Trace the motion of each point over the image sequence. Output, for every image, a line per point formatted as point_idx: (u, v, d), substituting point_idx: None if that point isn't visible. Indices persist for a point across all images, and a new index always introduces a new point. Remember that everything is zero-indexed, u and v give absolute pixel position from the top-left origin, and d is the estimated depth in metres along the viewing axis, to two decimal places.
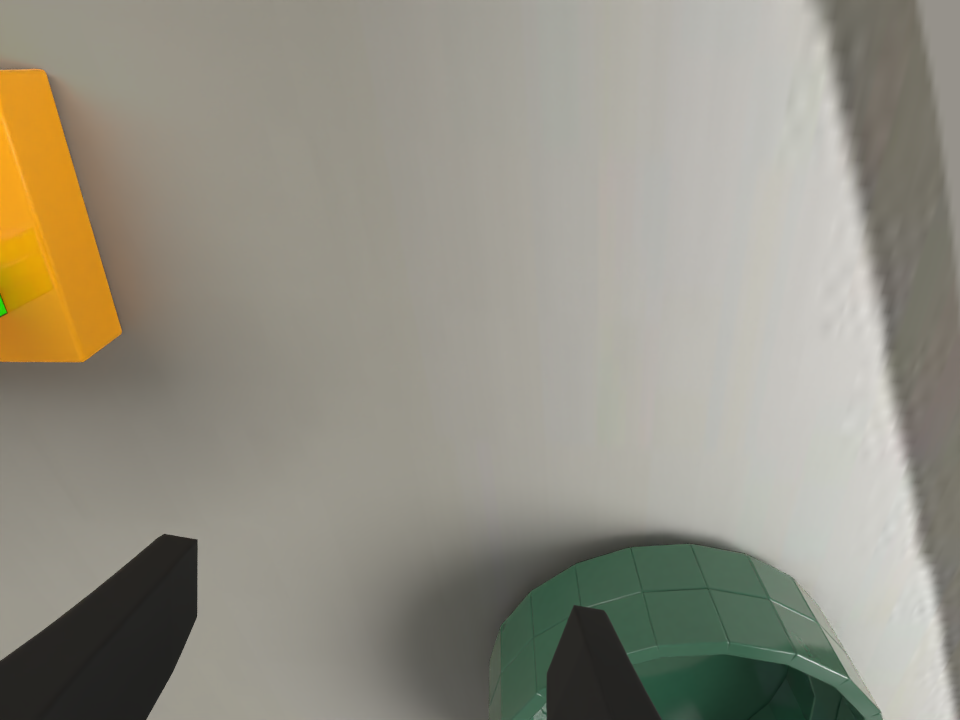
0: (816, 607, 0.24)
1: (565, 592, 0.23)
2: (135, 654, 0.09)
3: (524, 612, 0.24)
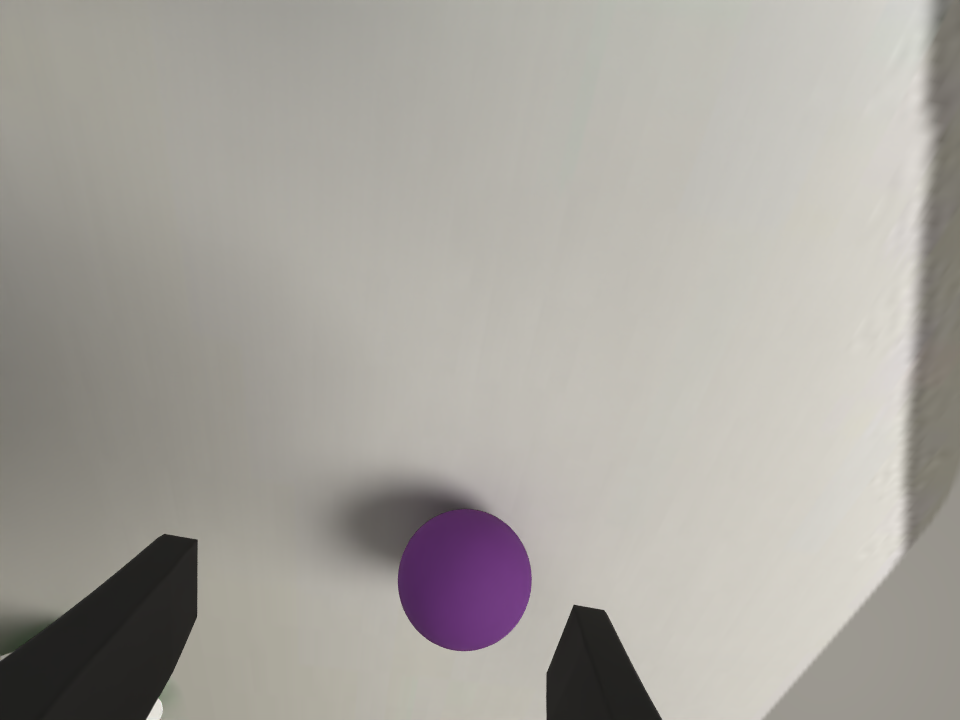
0: None
1: None
2: (135, 654, 0.09)
3: None
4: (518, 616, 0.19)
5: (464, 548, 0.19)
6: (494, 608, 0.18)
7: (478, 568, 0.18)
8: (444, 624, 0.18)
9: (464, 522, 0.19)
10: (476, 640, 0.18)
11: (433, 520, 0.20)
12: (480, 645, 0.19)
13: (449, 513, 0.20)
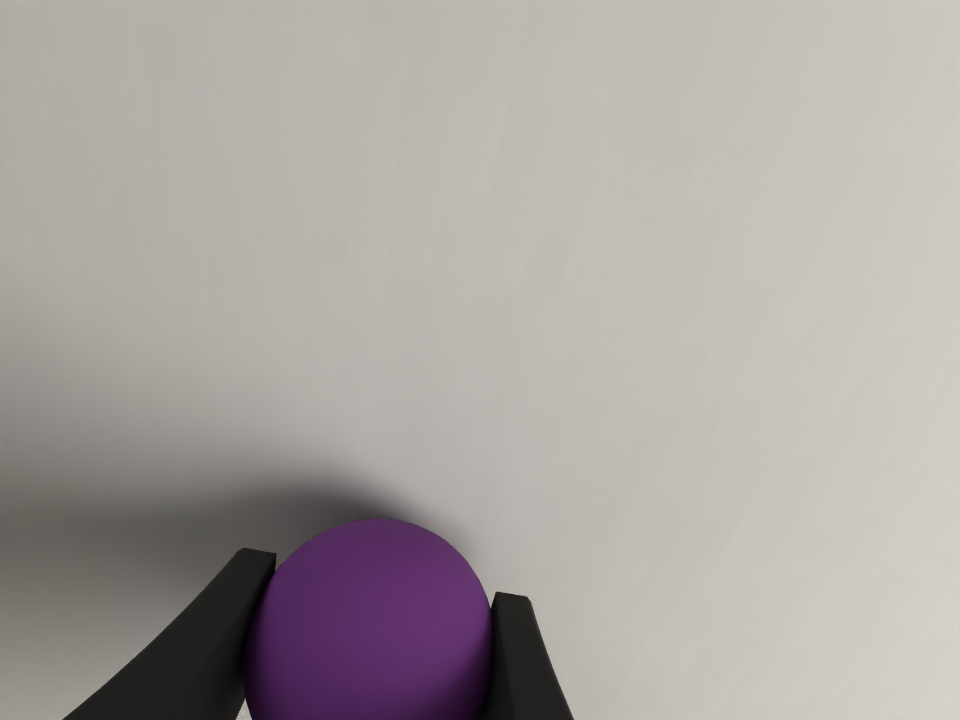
0: None
1: None
2: (227, 669, 0.09)
3: None
4: None
5: (354, 599, 0.09)
6: None
7: (380, 641, 0.09)
8: None
9: (364, 545, 0.10)
10: None
11: (313, 540, 0.11)
12: None
13: (343, 527, 0.11)
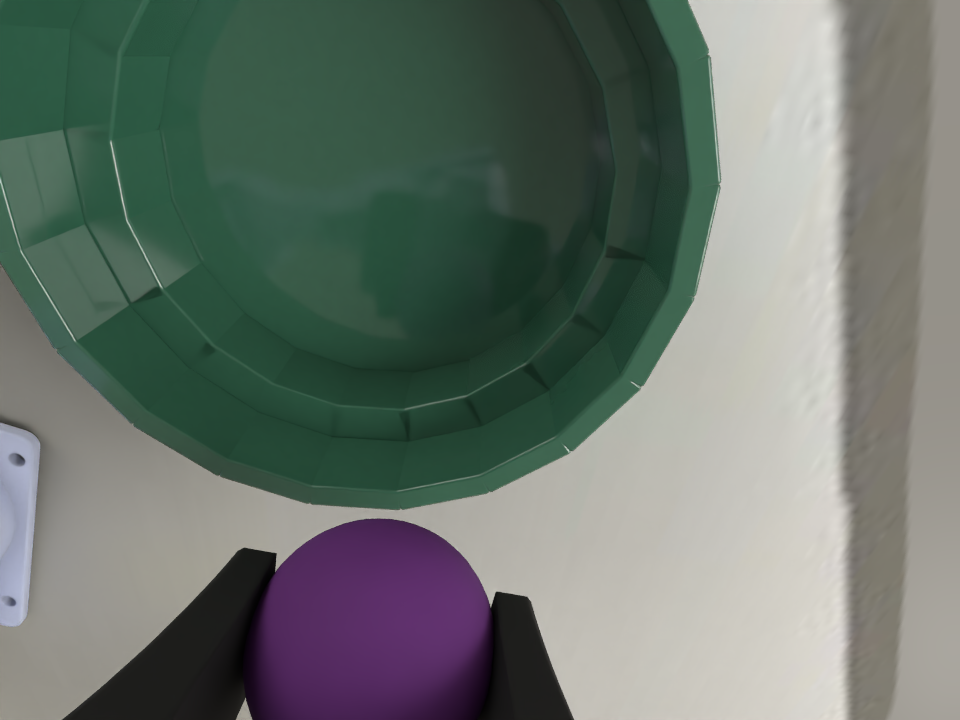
0: None
1: None
2: (227, 669, 0.09)
3: None
4: None
5: (355, 598, 0.09)
6: None
7: (381, 641, 0.09)
8: None
9: (364, 545, 0.10)
10: None
11: (313, 540, 0.11)
12: None
13: (344, 527, 0.11)
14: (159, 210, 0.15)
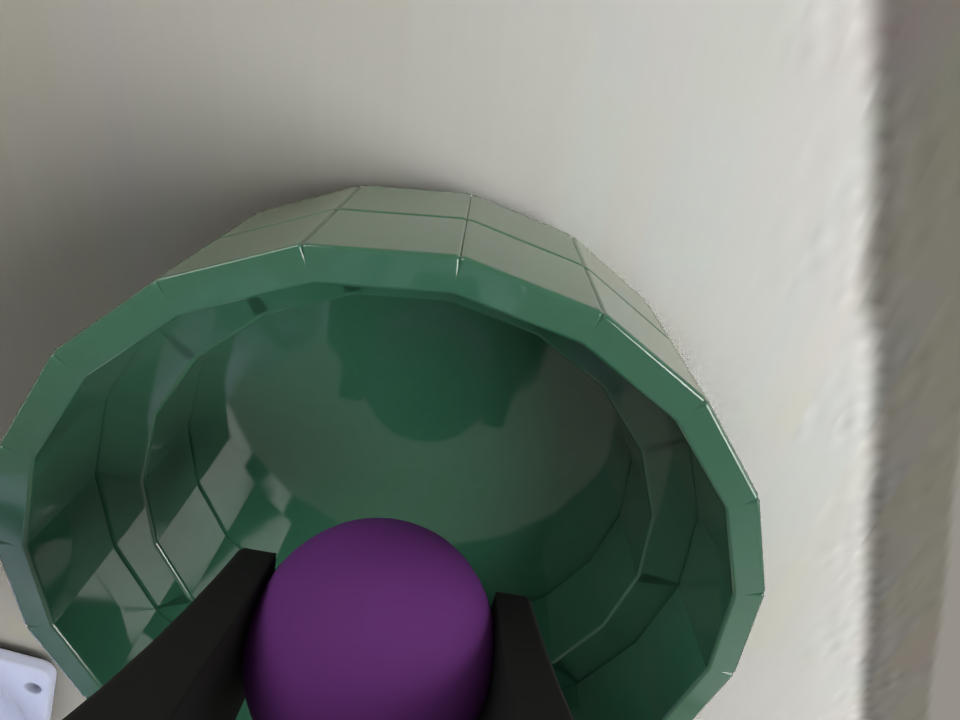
0: None
1: None
2: (227, 669, 0.09)
3: None
4: None
5: (354, 598, 0.09)
6: None
7: (380, 640, 0.09)
8: None
9: (364, 544, 0.10)
10: None
11: (313, 539, 0.11)
12: None
13: (343, 526, 0.11)
14: (186, 507, 0.15)
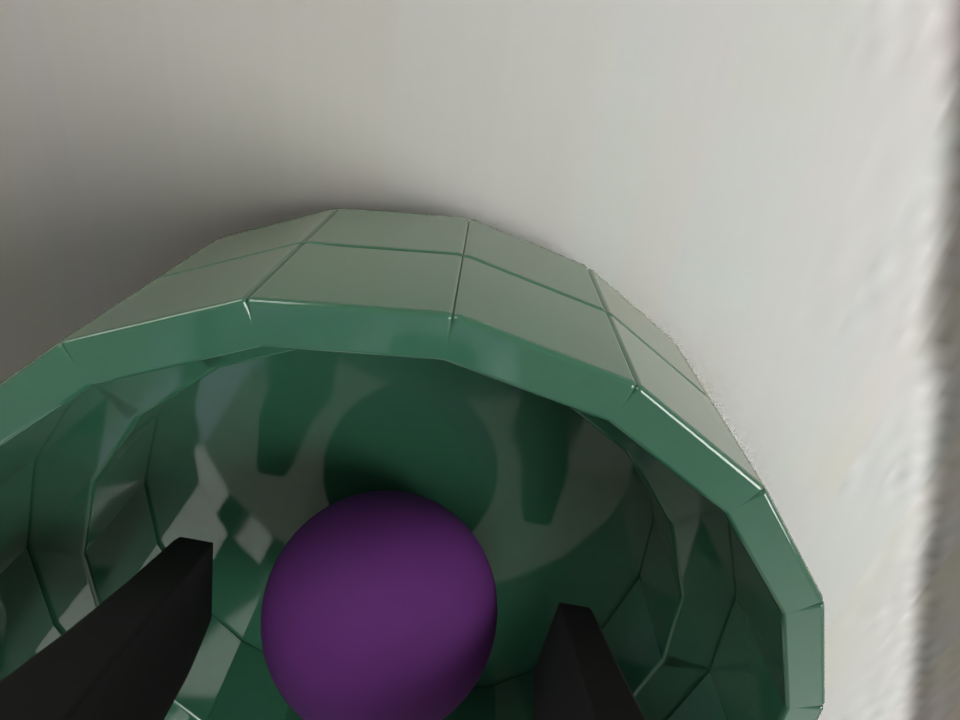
0: None
1: None
2: (153, 657, 0.09)
3: None
4: (470, 681, 0.11)
5: (366, 559, 0.10)
6: (420, 672, 0.10)
7: (390, 596, 0.10)
8: (325, 702, 0.10)
9: (375, 511, 0.11)
10: None
11: (326, 509, 0.12)
12: None
13: (355, 497, 0.12)
14: None
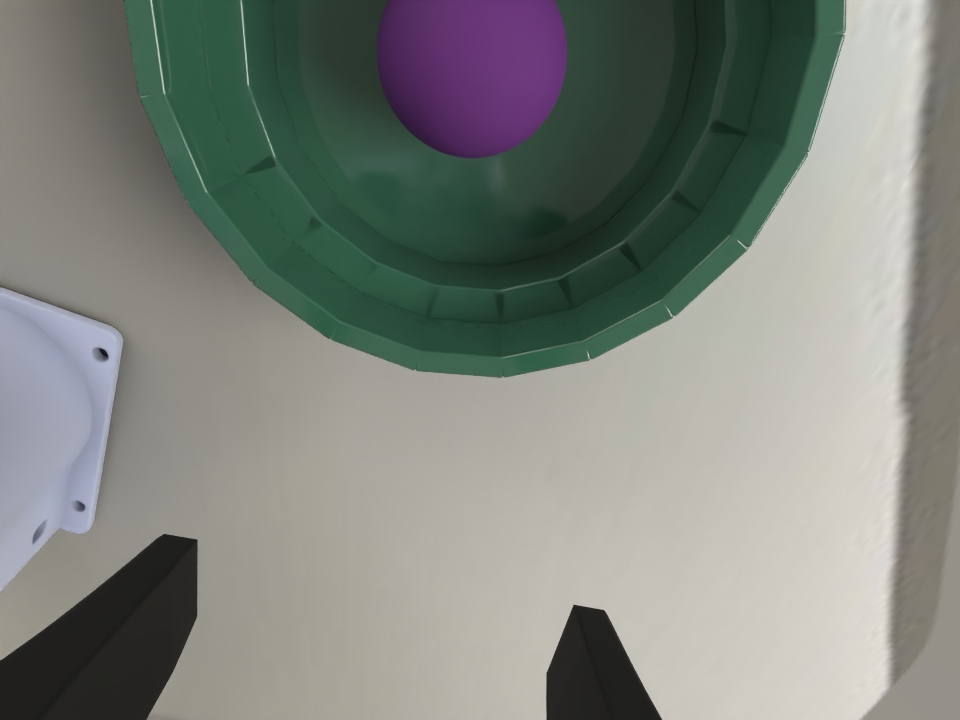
0: None
1: None
2: (134, 654, 0.09)
3: None
4: (543, 69, 0.13)
5: None
6: (507, 17, 0.12)
7: None
8: (432, 38, 0.12)
9: None
10: (478, 76, 0.12)
11: None
12: (484, 96, 0.13)
13: None
14: (270, 87, 0.16)
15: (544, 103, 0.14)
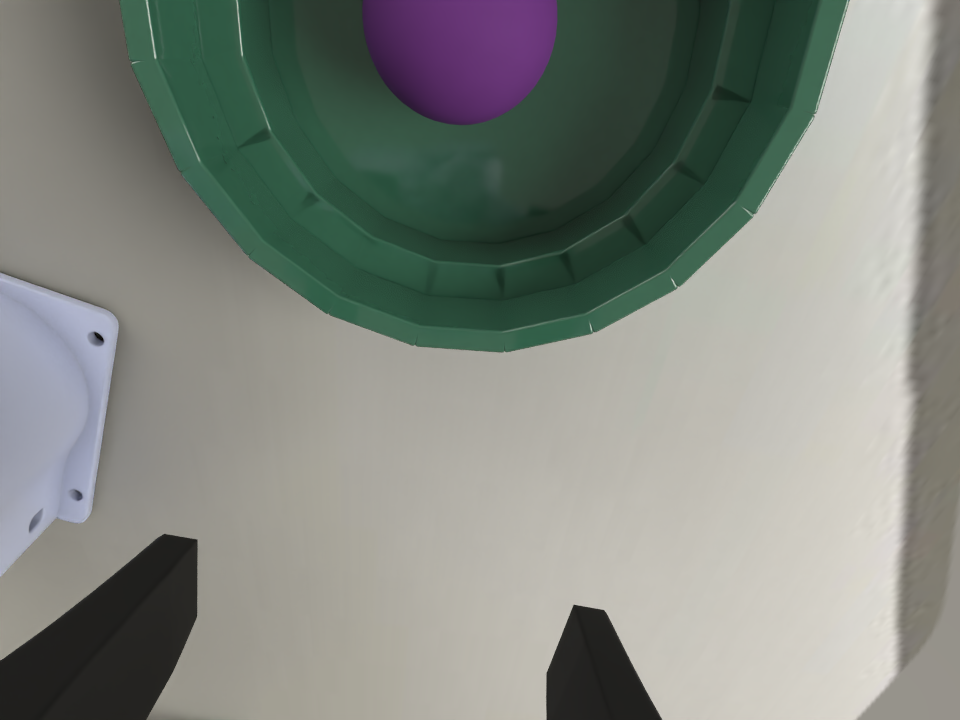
0: None
1: None
2: (134, 653, 0.09)
3: None
4: (525, 24, 0.12)
5: None
6: None
7: None
8: None
9: None
10: (454, 29, 0.12)
11: None
12: (462, 51, 0.12)
13: None
14: (265, 59, 0.16)
15: (529, 62, 0.13)
